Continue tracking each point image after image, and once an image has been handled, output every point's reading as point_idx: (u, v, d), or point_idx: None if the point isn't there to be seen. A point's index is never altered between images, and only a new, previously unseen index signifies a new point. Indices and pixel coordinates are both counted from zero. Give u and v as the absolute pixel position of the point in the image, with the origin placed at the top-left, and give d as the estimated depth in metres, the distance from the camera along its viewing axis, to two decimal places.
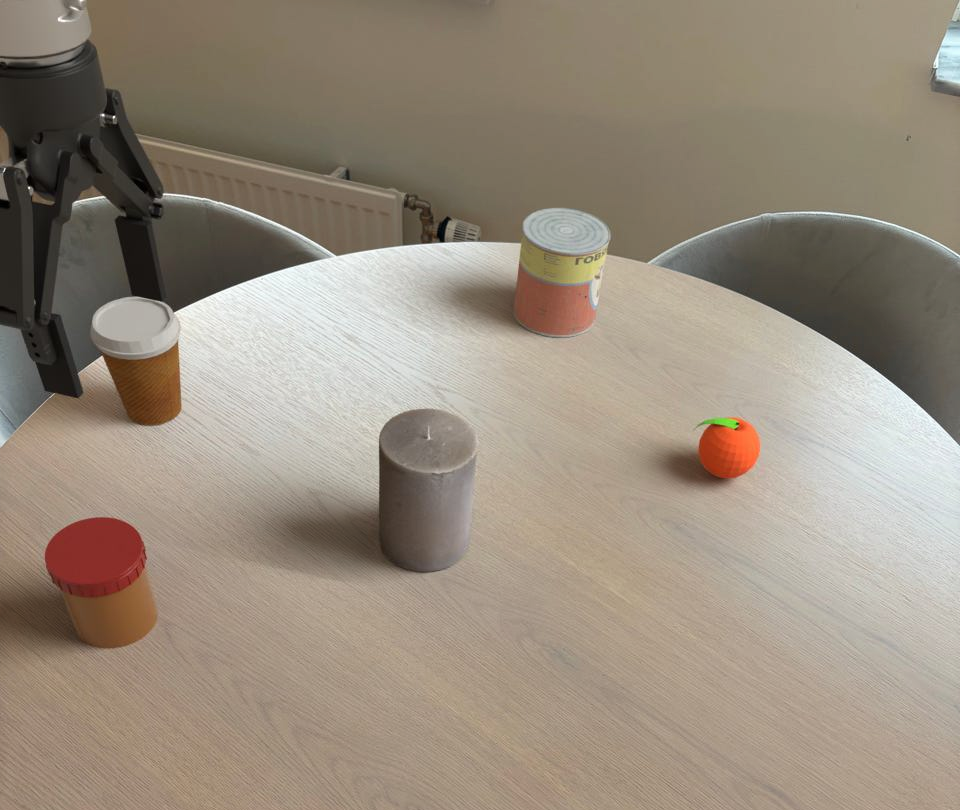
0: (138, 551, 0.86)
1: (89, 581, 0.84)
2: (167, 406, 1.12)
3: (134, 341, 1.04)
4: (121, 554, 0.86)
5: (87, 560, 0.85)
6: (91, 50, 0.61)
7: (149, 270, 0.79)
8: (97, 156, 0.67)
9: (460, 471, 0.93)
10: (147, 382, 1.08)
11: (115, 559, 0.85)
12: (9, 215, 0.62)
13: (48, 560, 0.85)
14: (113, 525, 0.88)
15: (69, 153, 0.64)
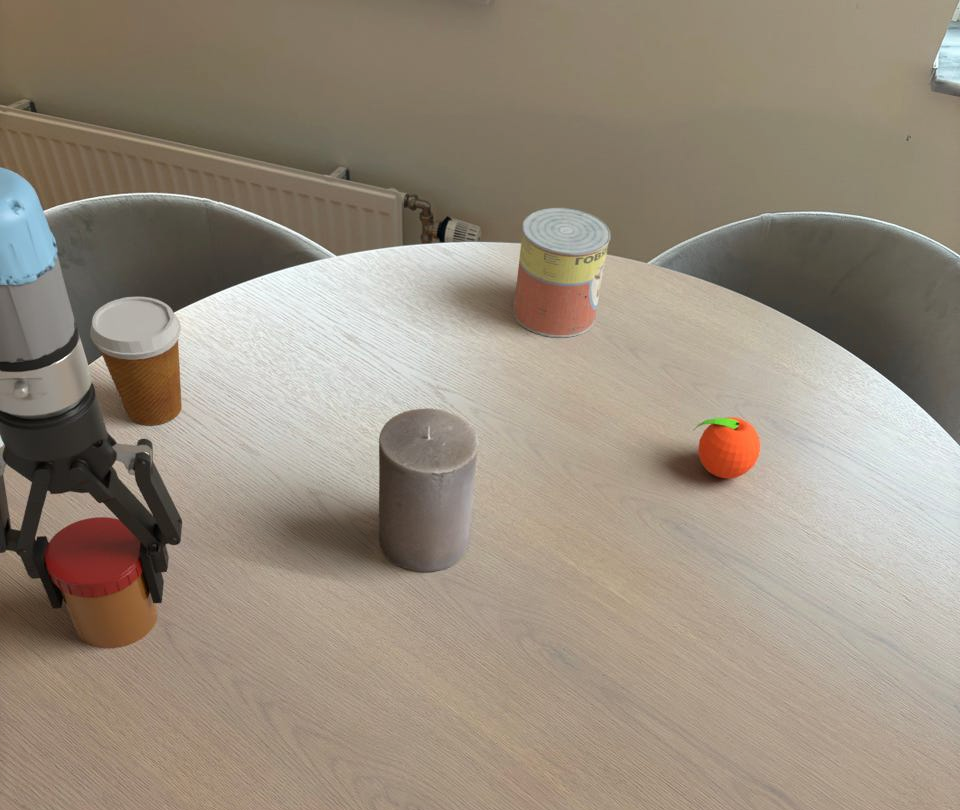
0: (138, 551, 0.86)
1: (89, 581, 0.84)
2: (167, 406, 1.12)
3: (134, 341, 1.04)
4: (121, 554, 0.86)
5: (87, 560, 0.85)
6: (52, 422, 0.71)
7: None
8: (78, 480, 0.77)
9: (460, 471, 0.93)
10: (147, 382, 1.08)
11: (115, 559, 0.85)
12: None
13: (48, 560, 0.85)
14: (113, 525, 0.88)
15: (40, 466, 0.76)
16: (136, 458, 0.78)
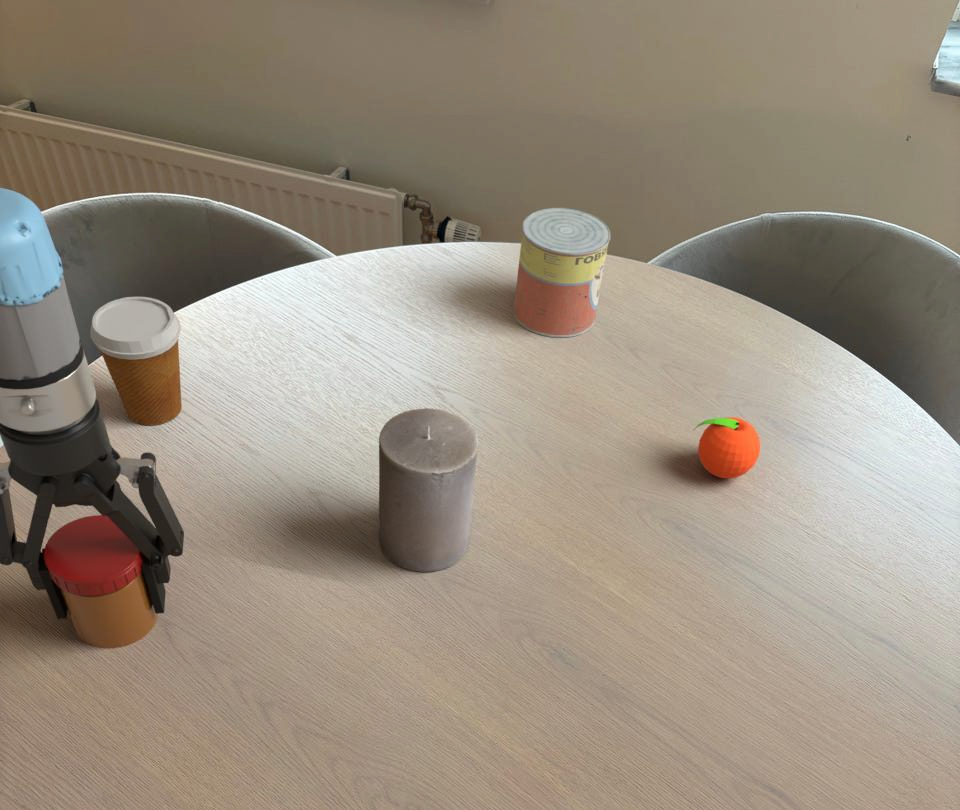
0: (105, 517, 0.88)
1: None
2: (167, 406, 1.12)
3: (134, 341, 1.04)
4: (106, 527, 0.87)
5: (108, 550, 0.86)
6: (58, 437, 0.72)
7: None
8: (83, 493, 0.78)
9: (460, 471, 0.93)
10: (147, 382, 1.08)
11: (112, 531, 0.87)
12: None
13: (99, 578, 0.84)
14: (61, 536, 0.86)
15: (45, 480, 0.77)
16: (140, 472, 0.79)
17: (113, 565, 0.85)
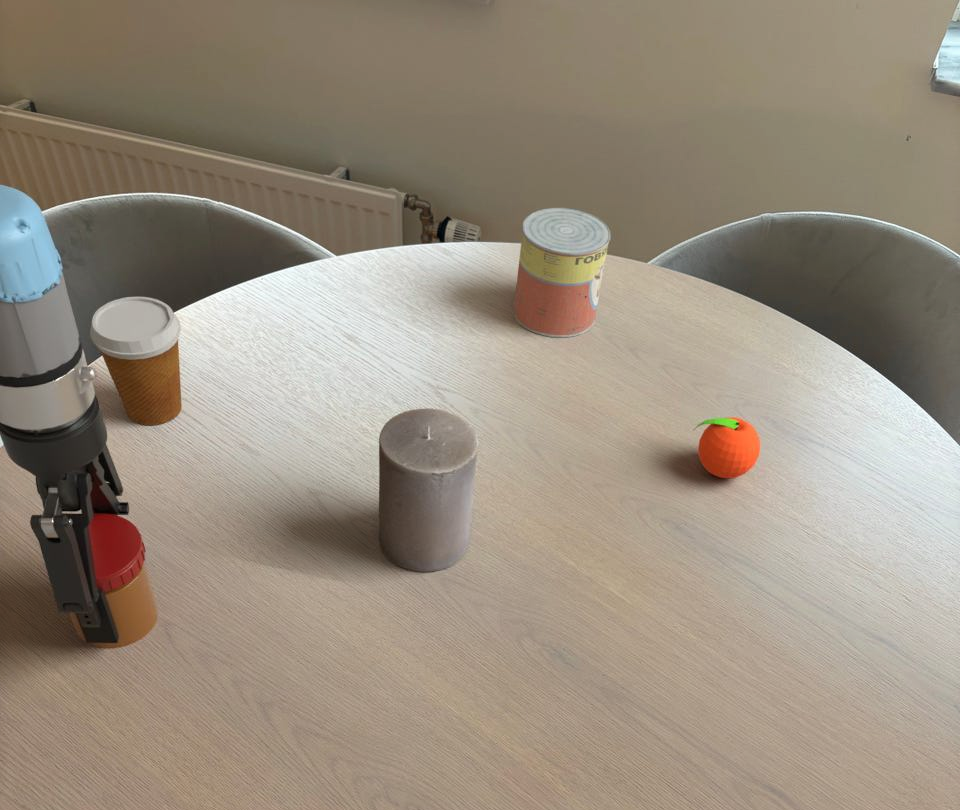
0: None
1: (102, 515, 0.88)
2: (167, 406, 1.12)
3: (134, 341, 1.04)
4: None
5: (101, 535, 0.86)
6: (94, 398, 0.75)
7: None
8: (97, 466, 0.80)
9: (460, 471, 0.93)
10: (147, 382, 1.08)
11: None
12: (61, 546, 0.76)
13: (137, 538, 0.86)
14: None
15: (83, 475, 0.78)
16: None
17: (123, 530, 0.87)
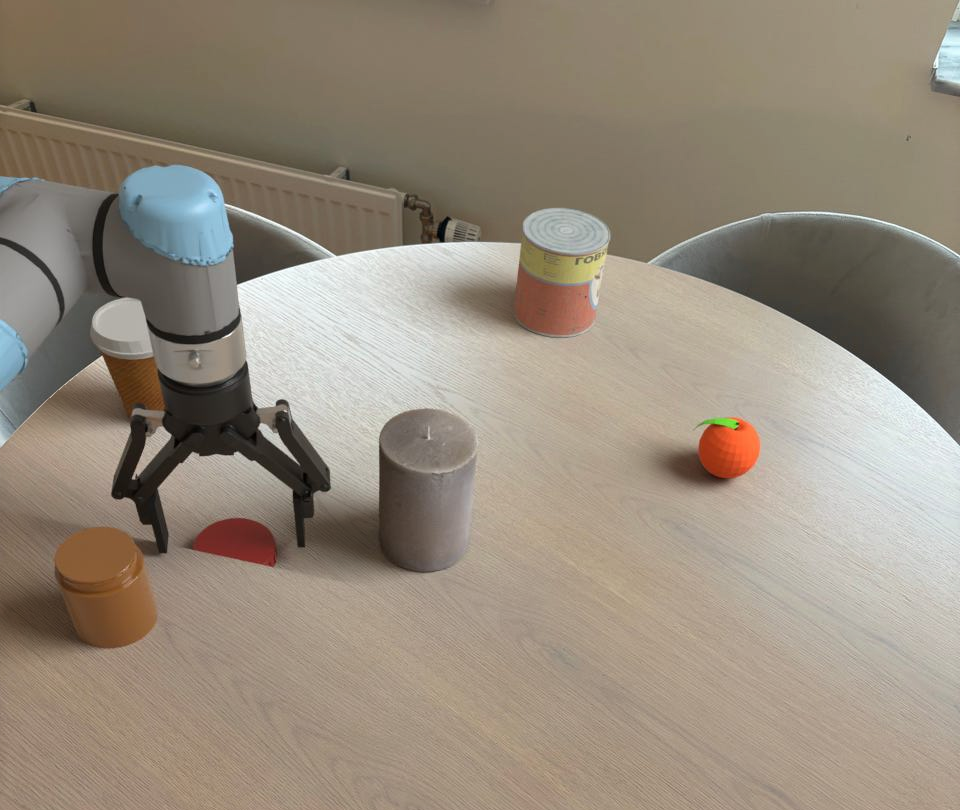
0: (241, 519, 1.02)
1: (272, 544, 1.00)
2: None
3: (134, 341, 1.04)
4: (243, 528, 1.01)
5: (247, 548, 1.00)
6: (216, 389, 0.81)
7: None
8: (227, 443, 0.87)
9: (460, 471, 0.93)
10: (147, 382, 1.08)
11: (248, 532, 1.01)
12: (131, 437, 0.87)
13: None
14: (206, 536, 1.00)
15: (195, 431, 0.86)
16: (276, 417, 0.87)
17: (253, 560, 0.99)
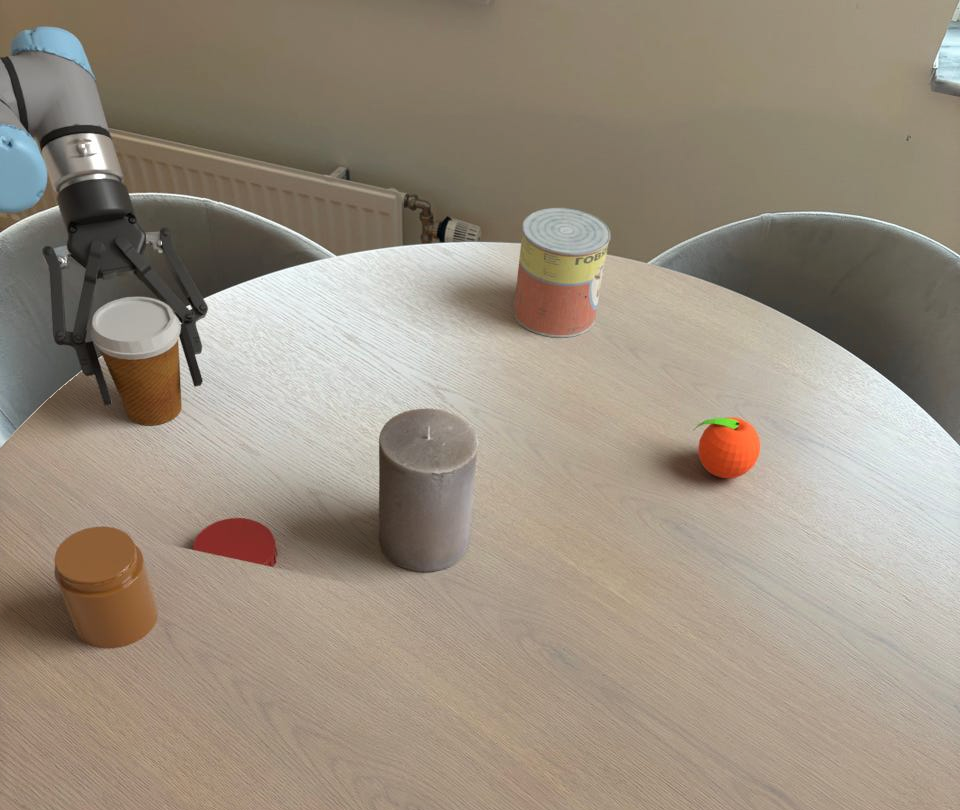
0: (241, 519, 1.02)
1: (272, 544, 1.00)
2: (167, 406, 1.12)
3: (134, 341, 1.04)
4: (243, 528, 1.01)
5: (247, 548, 1.00)
6: (102, 178, 1.04)
7: (188, 359, 1.11)
8: (122, 247, 1.06)
9: (460, 471, 0.93)
10: (147, 382, 1.08)
11: (248, 532, 1.01)
12: None
13: None
14: (206, 536, 1.00)
15: None
16: (160, 230, 1.09)
17: (253, 560, 0.99)
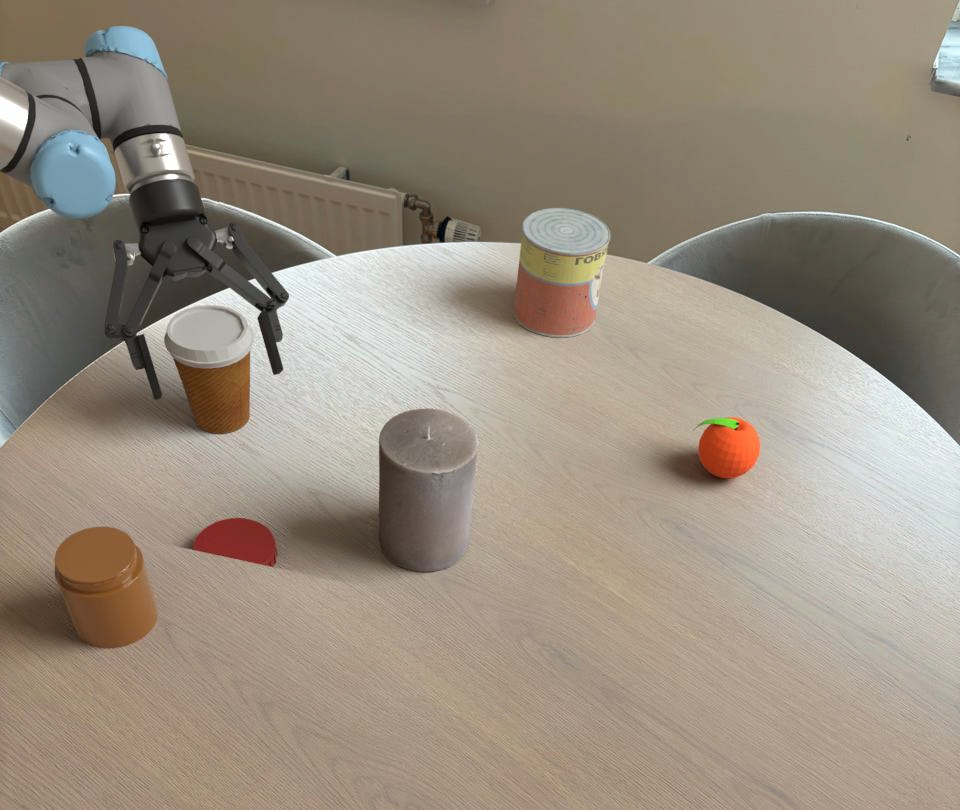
0: (241, 519, 1.02)
1: (272, 544, 1.00)
2: (237, 414, 1.12)
3: (210, 350, 1.04)
4: (243, 528, 1.01)
5: (247, 548, 1.00)
6: (176, 179, 1.03)
7: (269, 347, 1.10)
8: (194, 248, 1.06)
9: (460, 471, 0.93)
10: (220, 391, 1.08)
11: (248, 532, 1.01)
12: None
13: None
14: (206, 536, 1.00)
15: None
16: None
17: (253, 560, 0.99)
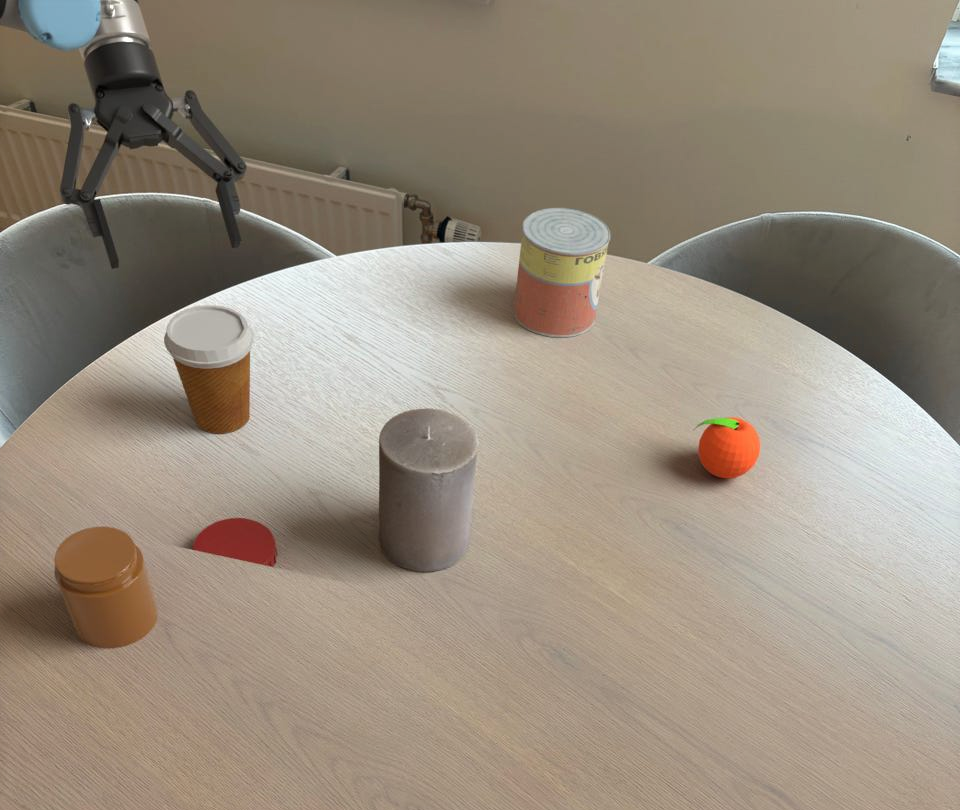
0: (241, 519, 1.02)
1: (272, 544, 1.00)
2: (237, 414, 1.12)
3: (210, 350, 1.04)
4: (243, 528, 1.01)
5: (247, 548, 1.00)
6: (130, 41, 1.04)
7: (227, 218, 1.11)
8: (150, 113, 1.06)
9: (460, 471, 0.93)
10: (220, 391, 1.08)
11: (248, 532, 1.01)
12: None
13: None
14: (206, 536, 1.00)
15: None
16: (185, 93, 1.08)
17: (253, 560, 0.99)
